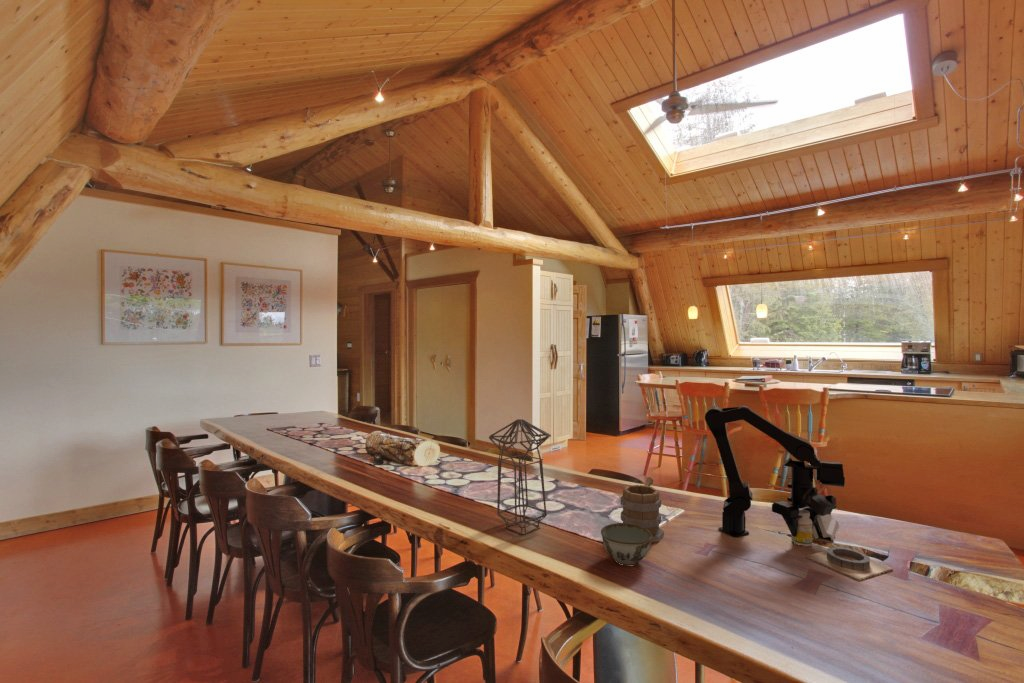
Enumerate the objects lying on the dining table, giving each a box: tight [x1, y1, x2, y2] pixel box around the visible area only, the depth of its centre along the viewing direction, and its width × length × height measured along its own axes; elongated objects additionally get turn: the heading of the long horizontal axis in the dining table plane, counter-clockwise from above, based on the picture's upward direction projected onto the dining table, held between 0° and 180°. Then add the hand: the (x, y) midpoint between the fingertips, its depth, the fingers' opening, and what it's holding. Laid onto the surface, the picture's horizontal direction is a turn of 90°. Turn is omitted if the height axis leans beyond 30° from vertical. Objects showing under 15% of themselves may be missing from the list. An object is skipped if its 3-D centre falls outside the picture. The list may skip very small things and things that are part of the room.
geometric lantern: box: [488, 418, 552, 535], centre depth 156 cm, size 16×16×35 cm
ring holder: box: [805, 546, 894, 582], centre depth 131 cm, size 14×14×2 cm
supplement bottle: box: [790, 509, 813, 547], centre depth 145 cm, size 5×5×10 cm
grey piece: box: [812, 513, 840, 541], centre depth 154 cm, size 17×5×10 cm, turn 142°
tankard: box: [620, 476, 665, 543], centre depth 154 cm, size 20×13×15 cm, turn 148°
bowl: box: [600, 522, 652, 566], centre depth 133 cm, size 14×13×8 cm
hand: (801, 534), depth 145 cm, fingers open, 6 cm apart
